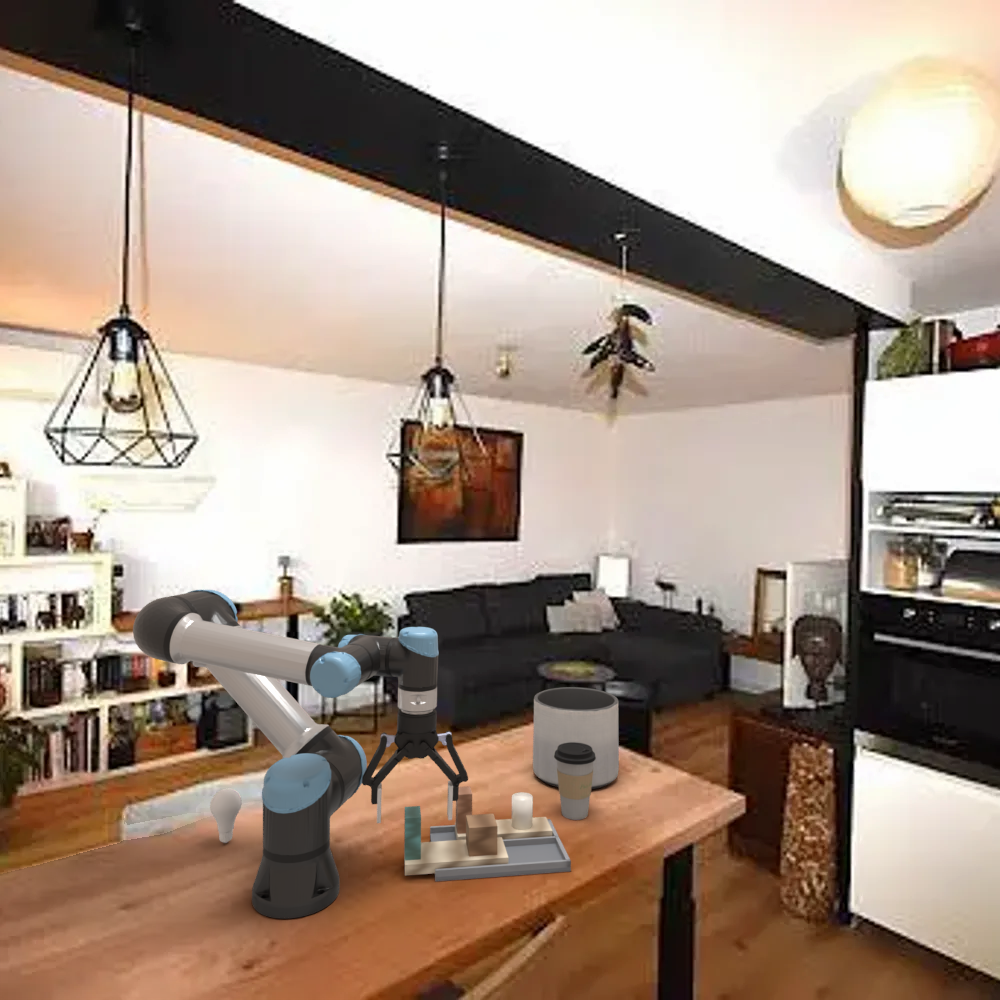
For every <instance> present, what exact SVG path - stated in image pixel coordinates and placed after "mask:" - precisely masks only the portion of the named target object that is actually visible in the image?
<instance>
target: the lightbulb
mask: <svg viewBox="0 0 1000 1000" xmlns="http://www.w3.org/2000/svg"><path fill="white" fill-rule="evenodd" d="M242 804H243V803H242V797H241V795H240V792H238V791H237V790H236V789H234V788H231V787H230V788H229V787H227V788H222V789H220V790H218V791H217V792H216V793H215V794H214V795H213V796H212V798H211V800H210V805H209V809H210V813H211V815H212V817H214V819H215V823H216V825H217V832H218V836H219V837H218V839H219V841H220V842H221V843H223V844H227V843H229V841H231V840H232V839H233V835H234V832H233V831H234V828H235V822H236V818H237V817H238V814H239V813H240V810H241V808H242Z"/></svg>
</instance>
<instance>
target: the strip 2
mask: <svg viewBox="0 0 1000 1000" xmlns="http://www.w3.org/2000/svg"><path fill="white" fill-rule="evenodd" d="M466 815H473V791H472V789H471V786H470V785H469V786H467V785H465V786H459V793H458V800H457V801H455V822H454V825H455V834H456V839H457V840H466ZM547 819H548V818H547V816H538V817H537V816H536V817H534V816H533V826H532V828H530V829H528V830H517V829H515V828H513V827H512V818H506V819H495V820H496V823H497V826H498V832H497V837H502V839H503V840H505V839H520V838H535V837H550V836H552V829H551V826H550V824H549V822H548V820H547Z"/></svg>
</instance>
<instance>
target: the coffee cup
mask: <svg viewBox="0 0 1000 1000" xmlns="http://www.w3.org/2000/svg"><path fill="white" fill-rule="evenodd" d="M554 758H555V759H556V760H557V775H558V786H559V787H558V794H559V797H560V799H559V800H560V808H561V815H562V816H563V817H564V818H566V819H569V820H572V821H573V820H574V821H579V820H584V819H586V818H587V817H588V816H589V815H588V814H589V809H590V807H589V805H590V800H591V799H590V797H591V794H592V789H591V787H592V778H593V762H594V761H595V759H596V757H595V753H594V752H593V750H592V747H591V746H589V745H587V744H583V743H577V742H569V743H563V744H560V745H559V746H558V748H557V750H556V751H555V755H554Z"/></svg>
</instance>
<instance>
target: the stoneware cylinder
mask: <svg viewBox="0 0 1000 1000" xmlns="http://www.w3.org/2000/svg"><path fill="white" fill-rule="evenodd" d="M533 801H534V797H533V795H532V794H531V793H529V792H525V791H524V792H523V791H522V792H521V791H520V792H516V793H513V794H512V795H511V819H512V827H513V828H515V829H517V830H528V829H530V828H532V826H533V818H534V816H533V813H534V812H533V808H534V807H533V806H534V803H533Z"/></svg>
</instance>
